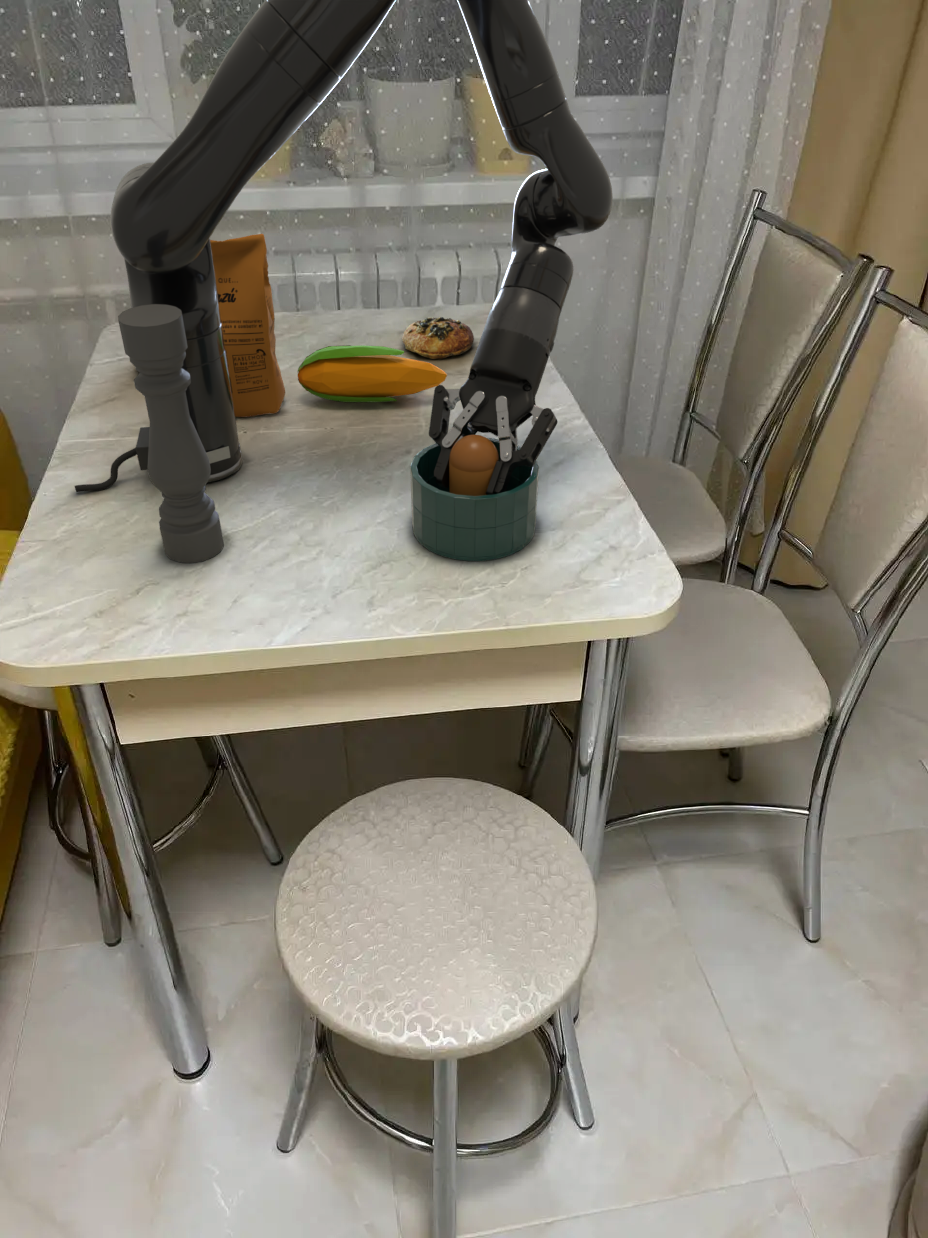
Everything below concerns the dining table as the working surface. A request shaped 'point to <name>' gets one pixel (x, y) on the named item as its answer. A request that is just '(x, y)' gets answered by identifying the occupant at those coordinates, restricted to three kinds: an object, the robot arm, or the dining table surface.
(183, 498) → the candle holder
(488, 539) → the pot
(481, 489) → the brown rounded cylinder
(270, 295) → the coffee package
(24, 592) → the dining table surface
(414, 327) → the bread roll
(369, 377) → the corn
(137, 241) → the robot arm
